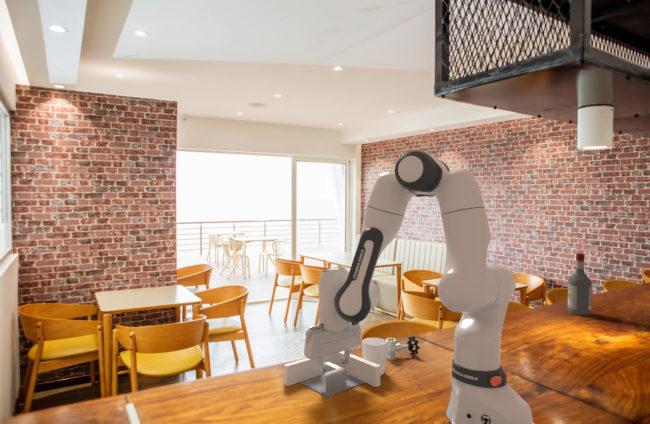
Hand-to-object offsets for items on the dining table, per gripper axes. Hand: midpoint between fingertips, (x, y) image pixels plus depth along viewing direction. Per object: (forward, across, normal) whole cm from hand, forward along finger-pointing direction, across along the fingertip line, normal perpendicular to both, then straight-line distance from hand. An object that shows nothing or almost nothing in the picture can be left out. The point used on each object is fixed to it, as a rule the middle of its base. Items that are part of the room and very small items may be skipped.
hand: (333, 367), depth 130 cm
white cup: (+5, +16, -1) cm, 17 cm away
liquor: (+6, +152, -16) cm, 153 cm away
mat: (+5, 0, +1) cm, 5 cm away
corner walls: (+5, -1, 0) cm, 5 cm away
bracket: (+5, -2, 0) cm, 5 cm away
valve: (+5, +34, +2) cm, 35 cm away
